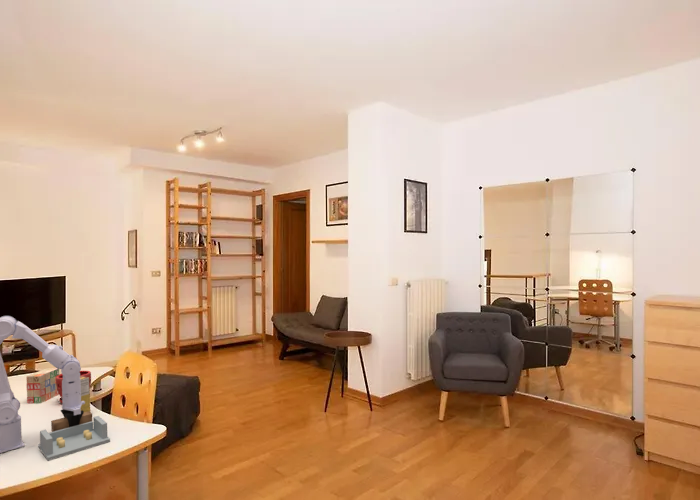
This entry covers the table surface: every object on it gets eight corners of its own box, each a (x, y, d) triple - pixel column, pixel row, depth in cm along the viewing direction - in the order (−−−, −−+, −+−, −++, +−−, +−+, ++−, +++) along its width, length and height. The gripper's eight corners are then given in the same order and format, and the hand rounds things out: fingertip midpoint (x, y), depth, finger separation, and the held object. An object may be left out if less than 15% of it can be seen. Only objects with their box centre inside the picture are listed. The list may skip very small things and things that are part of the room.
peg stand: (47, 460, 138) (47, 441, 138) (38, 447, 148) (37, 429, 148) (110, 441, 151) (109, 424, 151) (97, 430, 160) (97, 414, 160)
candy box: (67, 413, 178) (66, 376, 177) (78, 410, 181) (77, 373, 181) (80, 417, 173) (79, 379, 173) (91, 414, 177) (89, 376, 177)
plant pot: (98, 395, 199) (97, 369, 199) (77, 406, 186) (76, 378, 186) (71, 395, 200) (70, 369, 200) (49, 405, 187) (48, 378, 187)
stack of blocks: (60, 388, 212) (59, 362, 212) (73, 387, 212) (72, 362, 212) (26, 403, 191) (26, 375, 191) (40, 403, 191) (40, 375, 191)
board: (54, 440, 153) (53, 423, 153) (51, 437, 155) (51, 420, 155) (92, 429, 161) (92, 413, 161) (89, 427, 164) (89, 411, 164)
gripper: (89, 393, 156) (90, 431, 156) (78, 385, 166) (79, 420, 166) (67, 399, 151) (68, 438, 151) (56, 390, 161) (57, 426, 161)
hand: (72, 429), depth 158 cm, fingers closed on board, 4 cm apart
